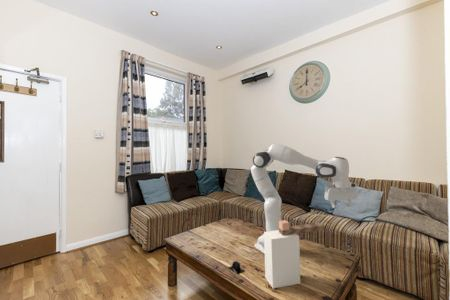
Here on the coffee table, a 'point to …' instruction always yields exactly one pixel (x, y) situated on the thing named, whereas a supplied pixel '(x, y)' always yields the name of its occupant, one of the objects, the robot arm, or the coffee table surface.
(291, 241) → the pedestal
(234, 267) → the black angular part
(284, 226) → the terracotta cube
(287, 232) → the walnut strip
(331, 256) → the coffee table surface
